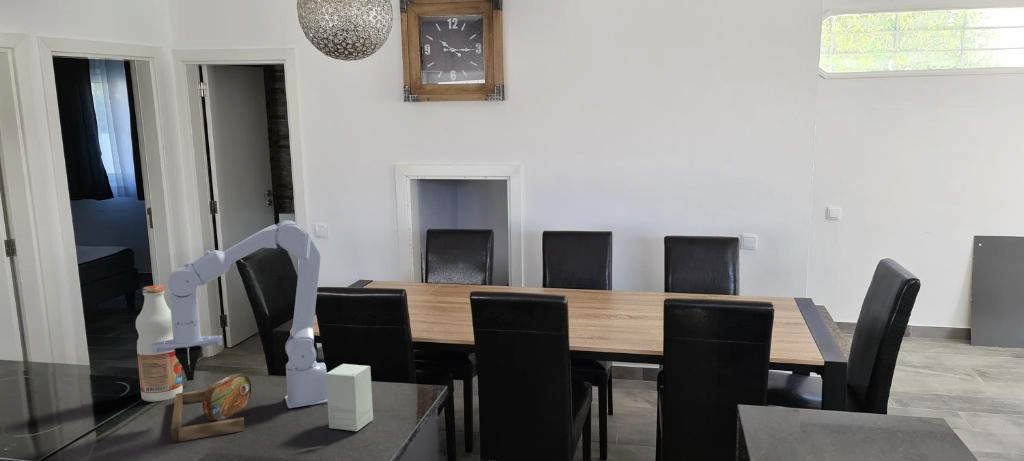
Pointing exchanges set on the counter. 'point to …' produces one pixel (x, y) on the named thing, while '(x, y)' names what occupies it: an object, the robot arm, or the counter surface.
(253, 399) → the counter surface
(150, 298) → the fruit juice
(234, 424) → the wooden u-shaped frame
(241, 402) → the tin
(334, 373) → the supplement box
